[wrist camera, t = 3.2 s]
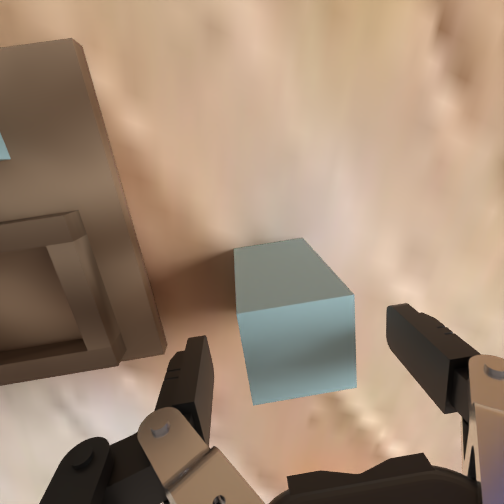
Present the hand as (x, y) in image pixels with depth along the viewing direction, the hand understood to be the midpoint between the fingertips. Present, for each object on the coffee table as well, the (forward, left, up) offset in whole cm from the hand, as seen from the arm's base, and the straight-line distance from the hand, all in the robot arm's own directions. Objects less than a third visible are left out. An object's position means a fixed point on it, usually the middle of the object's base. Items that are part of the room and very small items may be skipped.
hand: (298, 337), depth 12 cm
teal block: (0, 0, -7) cm, 7 cm away
